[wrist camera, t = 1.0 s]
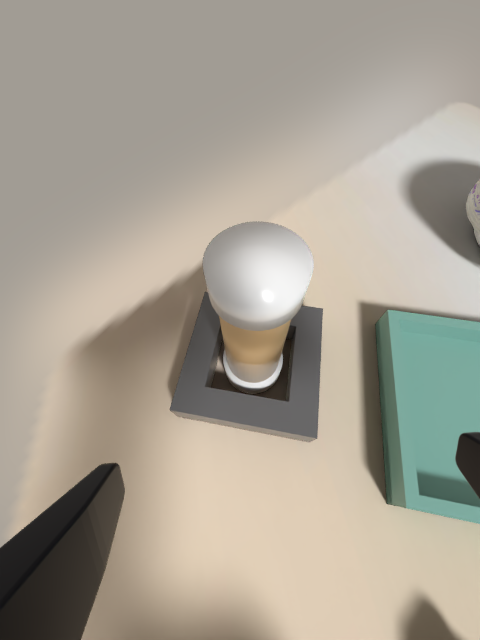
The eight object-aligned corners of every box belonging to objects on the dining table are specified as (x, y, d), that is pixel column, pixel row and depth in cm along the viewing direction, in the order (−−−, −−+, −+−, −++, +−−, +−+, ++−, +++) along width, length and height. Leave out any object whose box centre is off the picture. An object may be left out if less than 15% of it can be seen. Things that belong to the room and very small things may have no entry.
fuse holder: (309, 442, 20) (317, 438, 17) (177, 416, 21) (169, 409, 19) (316, 323, 24) (322, 308, 22) (208, 307, 26) (204, 291, 23)
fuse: (276, 398, 21) (310, 314, 10) (219, 388, 22) (189, 297, 10) (282, 345, 23) (316, 227, 12) (230, 337, 24) (216, 216, 13)
